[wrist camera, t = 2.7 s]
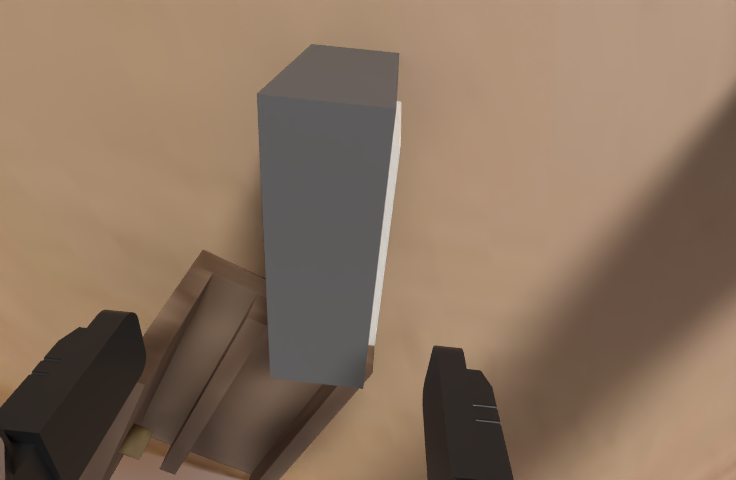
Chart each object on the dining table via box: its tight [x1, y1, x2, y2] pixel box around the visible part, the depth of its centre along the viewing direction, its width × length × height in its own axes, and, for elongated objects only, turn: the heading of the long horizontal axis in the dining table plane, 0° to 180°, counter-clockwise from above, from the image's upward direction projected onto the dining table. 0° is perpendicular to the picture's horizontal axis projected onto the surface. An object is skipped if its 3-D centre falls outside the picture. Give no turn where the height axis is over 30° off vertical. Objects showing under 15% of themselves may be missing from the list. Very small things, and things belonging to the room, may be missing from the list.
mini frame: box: [257, 44, 401, 389], centre depth 20 cm, size 4×12×9 cm, turn 175°
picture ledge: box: [79, 250, 374, 480], centre depth 28 cm, size 12×18×10 cm, turn 150°
